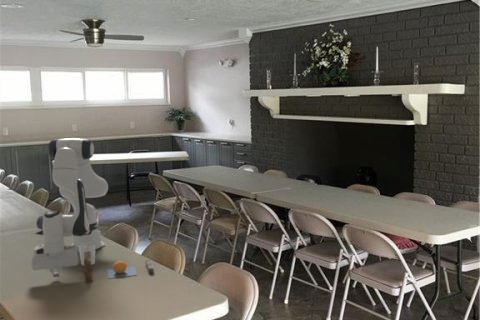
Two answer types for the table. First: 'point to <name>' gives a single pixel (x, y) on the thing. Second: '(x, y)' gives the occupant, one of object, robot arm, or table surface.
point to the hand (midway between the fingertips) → (56, 276)
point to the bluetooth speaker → (40, 222)
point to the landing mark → (128, 272)
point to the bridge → (87, 266)
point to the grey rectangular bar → (149, 267)
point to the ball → (119, 267)
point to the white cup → (86, 248)
